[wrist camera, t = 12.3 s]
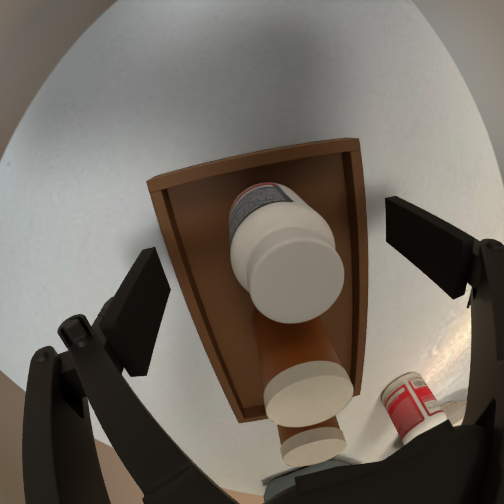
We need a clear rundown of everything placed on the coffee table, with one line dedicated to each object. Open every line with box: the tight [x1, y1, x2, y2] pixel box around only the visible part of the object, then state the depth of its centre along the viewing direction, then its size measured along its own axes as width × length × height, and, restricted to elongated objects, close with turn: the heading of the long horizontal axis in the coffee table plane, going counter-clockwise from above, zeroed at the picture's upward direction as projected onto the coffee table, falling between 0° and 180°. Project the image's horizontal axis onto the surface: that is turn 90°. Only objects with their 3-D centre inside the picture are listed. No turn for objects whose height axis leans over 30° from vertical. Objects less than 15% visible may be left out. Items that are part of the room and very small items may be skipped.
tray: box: [146, 138, 368, 423], centre depth 22 cm, size 26×14×2 cm, turn 11°
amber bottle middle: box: [253, 308, 353, 427], centre depth 18 cm, size 5×5×9 cm
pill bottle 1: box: [228, 182, 344, 323], centre depth 15 cm, size 5×5×9 cm
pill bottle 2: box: [382, 373, 447, 445], centre depth 25 cm, size 6×6×11 cm
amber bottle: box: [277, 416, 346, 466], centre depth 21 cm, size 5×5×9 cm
